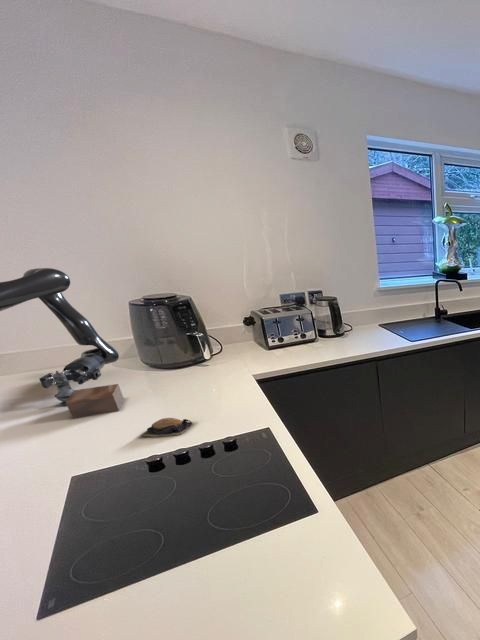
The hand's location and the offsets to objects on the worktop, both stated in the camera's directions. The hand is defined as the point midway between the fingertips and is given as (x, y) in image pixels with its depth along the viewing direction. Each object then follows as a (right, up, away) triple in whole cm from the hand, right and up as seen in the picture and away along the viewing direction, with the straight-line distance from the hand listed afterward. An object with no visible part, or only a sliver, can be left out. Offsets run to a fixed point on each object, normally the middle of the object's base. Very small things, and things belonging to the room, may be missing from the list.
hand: (62, 383), depth 136 cm
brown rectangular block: (+14, -8, -1) cm, 17 cm away
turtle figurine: (+48, -15, -14) cm, 52 cm away
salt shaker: (+1, -7, +2) cm, 7 cm away
